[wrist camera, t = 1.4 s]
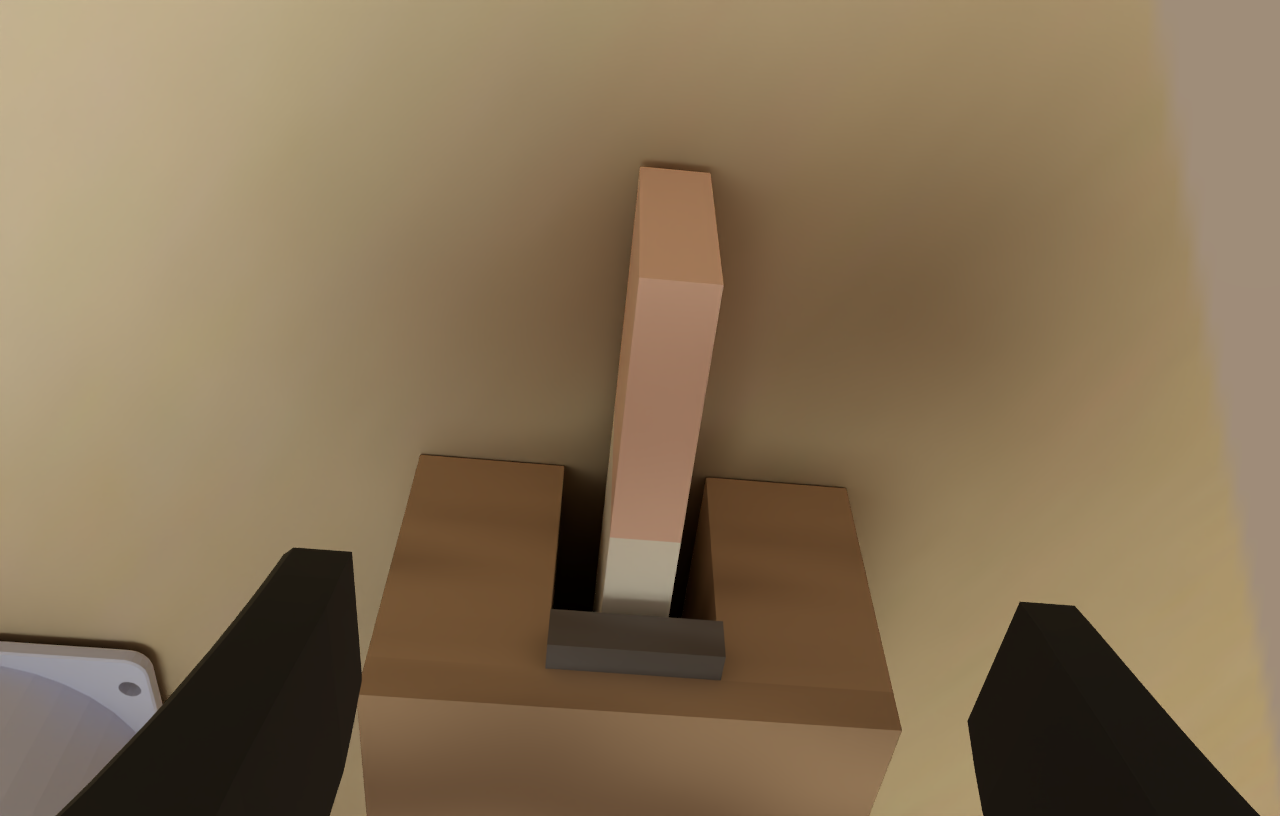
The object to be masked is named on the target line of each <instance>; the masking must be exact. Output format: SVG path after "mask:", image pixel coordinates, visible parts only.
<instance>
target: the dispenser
mask: <svg viewBox="0 0 1280 816" xmlns="http://www.w3.org/2000/svg"><path fill="white" fill-rule="evenodd" d="M563 477H564V466H556V465H544V464H531V463H518V462H506V461H493V460H480V459H468V458H455V457H442V456H430V455H420V458H419V462H418V465H417V469H416V473H415V477H414V480H413V484H412V488H411V492H410V495H409V499H408V503H407V507H406V510H405V514H404V518H403V522H402V525H401V529H400V533H399V537H398V540H397V544H396V548H395V552H394V556H393V559H392V563H391V567H390V571H389V574H388V578H387V582H386V586H385V589H384V593H383V597H382V601H381V604H380V608H379V612H378V616H377V619H376V623H375V627H374V631H373V634H372V638H371V642H370V646H369V649H368V653H367V657H366V661H365V664H364V668H363V672H362V683H361V688H360V693H359V698H358V703H357V707H358V718H359V730H360V742H361V754H362V765H363V777H364V789H365V801H366V812H367V816H869V815H870V812H871V810H872V807H873V805H874V802H875V799H876V797H877V794H878V792H879V789H880V786H881V784H882V781H883V779H884V776H885V773H886V771H887V768H888V766H889V763H890V760H891V758H892V755H893V753H894V750H895V747H896V745H897V742H898V740H899V737H900V734H901V732H902V729H901V725H900V720H899V716H898V712H897V707H896V703H895V699H894V694H893V690H892V686H891V681H890V677H889V673H888V668H887V664H886V660H885V655H884V651H883V647H882V642H881V638H880V634H879V629H878V625H877V620H876V616H875V612H874V607H873V603H872V599H871V594H870V590H869V586H868V581H867V577H866V573H865V568H864V564H863V560H862V555H861V551H860V547H859V542H858V538H857V534H856V529H855V525H854V521H853V516H852V512H851V507H850V503H849V499H848V494H847V490H846V488H835V487H822V486H809V485H797V484H784V483H771V482H759V481H746V480H733V479H721V478H708V477H706V482H705V487H704V493H703V499H702V504H701V510H700V516H699V521H698V527H697V533H696V538H695V544H694V550H693V555H692V561H691V566H690V572H689V578H688V583H687V589H686V595H685V600H684V606H683V612H682V617H681V618H670V617H656V616H642V615H628V614H614V613H600V612H586V611H572V610H558V609H554V597H555V584H556V570H557V557H558V544H559V530H560V517H561V504H562V491H563Z"/></svg>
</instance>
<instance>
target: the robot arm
mask: <svg viewBox="0 0 1280 816" xmlns="http://www.w3.org/2000/svg"><path fill="white" fill-rule="evenodd" d="M361 683H362V672H361V660H360V647H359V635H358V622H357V610H356V597H355V585H354V572H353V560H352V552H345V551H332V550H318V549H305V548H292V549H291V550H290V551H288V552H287V553H285V554H284V555H283V556H282V558H281V559H280V560H279V562H278V563H277V565H276V566H275V567H274V569H273V570H272V571H271V573H270V574H269V576H268V577H267V578H266V580H265V581H264V582H263V583H262V585H261V586H260V587H259V589H258V590H257V591H256V593H255V594H254V595H253V597H252V598H251V599H250V601H249V602H248V603H247V604H246V606H245V607H244V608H243V610H242V611H241V612H240V613H239V615H238V616H237V617H236V618H235V620H234V621H233V622H232V623H231V625H230V626H229V627H228V628H227V630H226V631H225V632H224V633H223V635H222V636H221V637H220V638H219V639H218V641H217V642H216V643H215V644H214V646H213V647H212V648H211V649H210V651H209V652H208V653H207V654H206V655H205V656H204V658H203V659H202V660H201V661H200V662H199V663H198V664H197V666H196V667H195V668H194V669H193V670H192V671H191V673H190V674H189V675H188V676H187V677H186V678H185V680H184V681H183V682H182V683H181V684H180V685H179V686H178V688H177V689H176V690H175V691H174V692H173V693H172V695H171V696H170V697H169V698H168V699H167V700H166V702H165V703H164V704H162V700H161V696H160V692H159V688H158V684H157V680H156V676H155V672H154V668H153V665H152V663H151V661H150V660H149V659H148V658H147V657H146V656H145V655H144V654H142V653H139V652H137V651H132V650H123V649H109V648H94V647H79V646H64V645H50V644H35V643H20V642H6V641H0V816H330V812H331V809H332V806H333V803H334V800H335V797H336V794H337V790H338V787H339V784H340V781H341V778H342V774H343V771H344V767H345V762H346V757H347V753H348V748H349V743H350V738H351V734H352V729H353V724H354V719H355V713H356V708H357V703H358V698H359V693H360V688H361ZM968 727H969V734H970V741H971V747H972V754H973V761H974V767H975V773H976V779H977V784H978V790H979V795H980V801H981V806H982V812H983V815H984V816H1260V815H1259V814H1258V813H1257V812H1256V811H1255V810H1254V809H1253V808H1252V807H1251V806H1250V805H1249V804H1248V802H1247V801H1246V800H1245V799H1244V798H1243V797H1242V796H1241V795H1240V794H1239V793H1238V792H1237V791H1236V790H1235V789H1234V788H1233V786H1232V785H1231V784H1230V783H1229V782H1228V781H1227V780H1226V779H1225V778H1224V777H1223V776H1222V774H1221V773H1220V772H1219V771H1218V770H1217V769H1216V768H1215V767H1214V766H1213V765H1212V763H1211V762H1210V761H1209V760H1208V759H1207V758H1206V757H1205V756H1204V754H1203V753H1202V752H1201V751H1200V750H1199V749H1198V748H1197V747H1196V746H1195V744H1194V743H1193V742H1192V741H1191V740H1190V739H1189V738H1188V737H1187V735H1186V734H1185V733H1184V732H1183V731H1182V730H1181V729H1180V727H1179V726H1178V725H1177V724H1176V723H1175V722H1174V721H1173V719H1172V718H1171V717H1170V716H1169V715H1168V714H1167V712H1166V711H1165V710H1164V709H1163V708H1162V707H1161V705H1160V704H1159V703H1158V702H1157V701H1156V700H1155V699H1154V697H1153V696H1152V695H1151V694H1150V693H1149V692H1148V690H1147V689H1146V688H1145V687H1144V686H1143V685H1142V683H1141V682H1140V681H1139V680H1138V679H1137V678H1136V676H1135V675H1134V674H1133V673H1132V672H1131V670H1130V669H1129V668H1128V667H1127V666H1126V665H1125V663H1124V662H1123V661H1122V660H1121V659H1120V658H1119V656H1118V655H1117V654H1116V653H1115V652H1114V650H1113V649H1112V648H1111V647H1110V646H1109V645H1108V643H1107V642H1106V641H1105V640H1104V639H1103V638H1102V636H1101V635H1100V634H1099V633H1098V632H1097V631H1096V629H1095V628H1094V627H1093V626H1092V625H1091V624H1090V623H1089V621H1088V620H1087V619H1086V618H1085V617H1084V616H1083V615H1082V614H1081V612H1080V611H1079V610H1078V609H1077V608H1076V607H1075V606H1070V605H1056V604H1043V603H1030V602H1020V603H1019V605H1018V607H1017V610H1016V612H1015V614H1014V617H1013V619H1012V621H1011V623H1010V626H1009V628H1008V630H1007V632H1006V635H1005V637H1004V639H1003V642H1002V644H1001V646H1000V648H999V651H998V653H997V655H996V657H995V660H994V662H993V664H992V667H991V669H990V671H989V673H988V676H987V678H986V680H985V682H984V685H983V687H982V689H981V692H980V694H979V696H978V698H977V701H976V703H975V705H974V708H973V710H972V712H971V714H970V717H969V719H968Z"/></svg>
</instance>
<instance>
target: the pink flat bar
mask: <svg viewBox="0 0 1280 816" xmlns="http://www.w3.org/2000/svg"><path fill="white" fill-rule="evenodd" d="M723 286H724V284H723V275H722V267H721V258H720V250H719V241H718V233H717V224H716V216H715V207H714V199H713V190H712V182H711V173H704V172H694V171H683V170H673V169H662V168H652V167H641V166H640V172H639V182H638V191H637V201H636V210H635V219H634V229H633V238H632V248H631V257H630V266H629V276H628V285H627V295H626V304H625V313H624V323H623V332H622V342H621V351H620V361H619V370H618V379H617V389H616V398H615V408H614V417H613V426H612V436H611V445H610V455H609V464H608V473H607V483H606V492H605V502H604V511H603V520H602V530H601V539H600V549H599V558H598V567H597V577H596V586H595V596H594V605H593V612H600V613H614V614H628V615H642V616H656V617H669V611H670V605H671V599H672V593H673V587H674V581H675V575H676V569H677V563H678V557H679V551H680V545H681V539H682V533H683V527H684V521H685V514H686V508H687V502H688V496H689V490H690V484H691V478H692V472H693V466H694V460H695V454H696V448H697V442H698V436H699V430H700V424H701V418H702V412H703V406H704V400H705V394H706V388H707V382H708V376H709V370H710V364H711V358H712V352H713V346H714V340H715V334H716V328H717V322H718V316H719V310H720V304H721V298H722V292H723Z"/></svg>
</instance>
